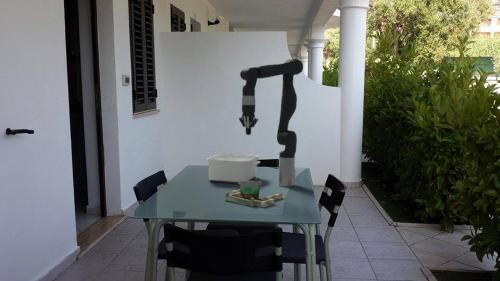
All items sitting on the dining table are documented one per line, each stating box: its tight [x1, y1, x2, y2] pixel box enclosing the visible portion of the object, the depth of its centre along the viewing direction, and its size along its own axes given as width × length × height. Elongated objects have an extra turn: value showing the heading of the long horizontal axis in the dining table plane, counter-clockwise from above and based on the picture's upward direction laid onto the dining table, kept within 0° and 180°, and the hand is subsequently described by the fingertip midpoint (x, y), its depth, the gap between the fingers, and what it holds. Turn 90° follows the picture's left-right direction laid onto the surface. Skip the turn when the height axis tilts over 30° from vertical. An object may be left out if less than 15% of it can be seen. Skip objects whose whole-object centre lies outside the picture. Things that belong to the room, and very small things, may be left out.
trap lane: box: [224, 188, 283, 208], centre depth 241 cm, size 24×28×4 cm
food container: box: [237, 179, 263, 200], centre depth 240 cm, size 12×6×10 cm, turn 92°
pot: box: [206, 152, 261, 185], centre depth 290 cm, size 34×29×15 cm
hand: (248, 134), depth 258 cm, fingers closed
